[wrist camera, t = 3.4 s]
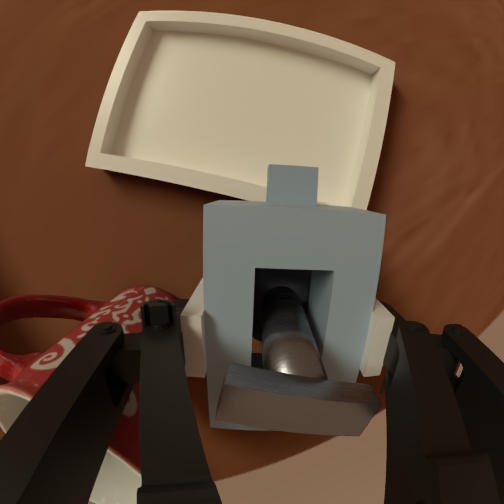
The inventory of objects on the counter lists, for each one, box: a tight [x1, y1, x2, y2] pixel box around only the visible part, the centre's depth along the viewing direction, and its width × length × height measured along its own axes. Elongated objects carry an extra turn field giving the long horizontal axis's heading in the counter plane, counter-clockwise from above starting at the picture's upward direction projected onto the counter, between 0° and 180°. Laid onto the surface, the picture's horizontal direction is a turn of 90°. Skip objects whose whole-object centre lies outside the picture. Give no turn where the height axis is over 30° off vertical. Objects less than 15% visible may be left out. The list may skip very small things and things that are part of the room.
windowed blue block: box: [203, 164, 386, 431], centre depth 12 cm, size 12×6×4 cm, turn 178°
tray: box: [85, 11, 395, 210], centre depth 16 cm, size 18×12×2 cm, turn 76°
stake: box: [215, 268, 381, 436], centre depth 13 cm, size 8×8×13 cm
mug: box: [0, 286, 188, 504], centre depth 14 cm, size 13×9×14 cm
